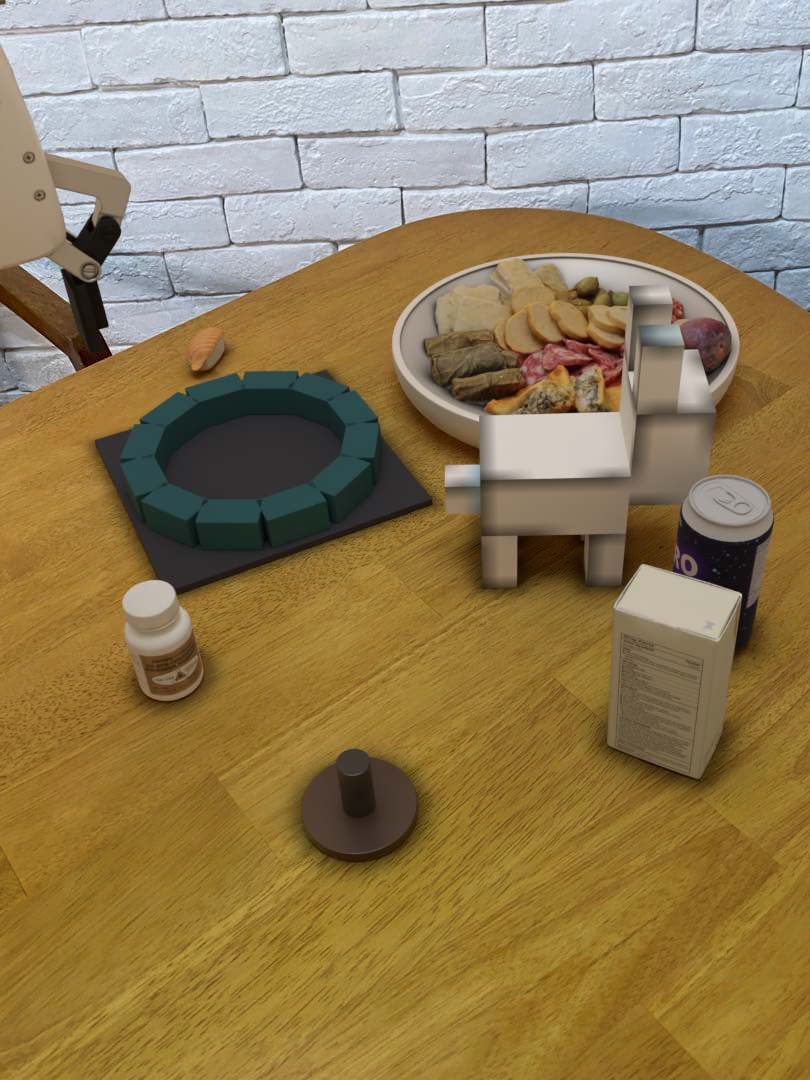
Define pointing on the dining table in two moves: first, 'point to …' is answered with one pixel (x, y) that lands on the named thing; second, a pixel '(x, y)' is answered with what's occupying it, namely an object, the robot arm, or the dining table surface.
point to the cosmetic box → (671, 668)
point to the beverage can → (726, 540)
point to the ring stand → (359, 807)
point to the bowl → (541, 338)
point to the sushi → (206, 349)
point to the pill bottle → (161, 641)
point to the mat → (256, 487)
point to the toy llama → (593, 455)
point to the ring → (271, 515)
